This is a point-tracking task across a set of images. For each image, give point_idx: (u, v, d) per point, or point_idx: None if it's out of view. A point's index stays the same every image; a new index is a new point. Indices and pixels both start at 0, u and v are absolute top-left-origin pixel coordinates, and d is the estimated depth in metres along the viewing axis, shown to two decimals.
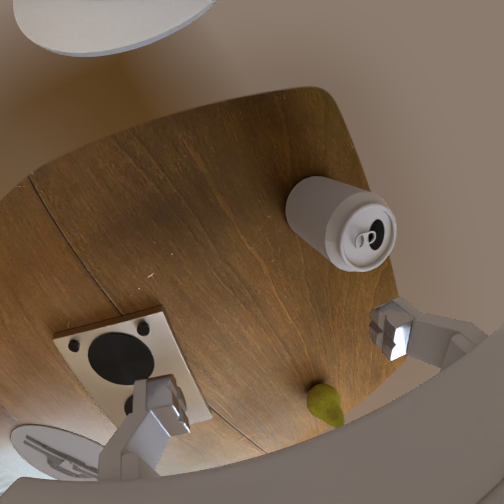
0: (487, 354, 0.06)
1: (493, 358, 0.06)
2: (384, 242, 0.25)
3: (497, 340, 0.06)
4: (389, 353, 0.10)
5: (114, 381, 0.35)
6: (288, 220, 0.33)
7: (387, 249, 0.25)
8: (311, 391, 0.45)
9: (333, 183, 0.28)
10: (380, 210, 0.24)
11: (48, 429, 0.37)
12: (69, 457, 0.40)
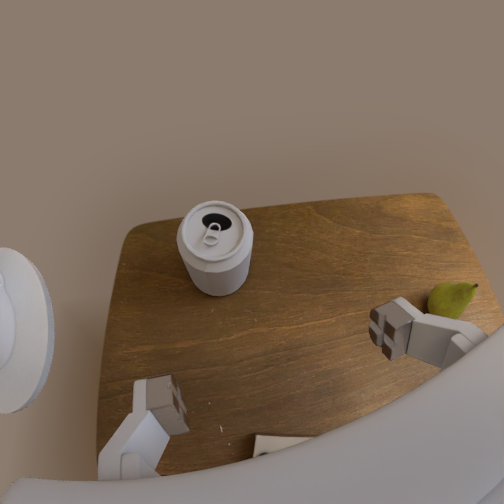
0: (487, 354, 0.06)
1: (493, 358, 0.06)
2: (228, 214, 0.29)
3: (497, 340, 0.06)
4: (389, 353, 0.10)
5: None
6: (217, 294, 0.36)
7: (235, 212, 0.29)
8: (430, 313, 0.36)
9: None
10: (195, 214, 0.29)
11: None
12: None
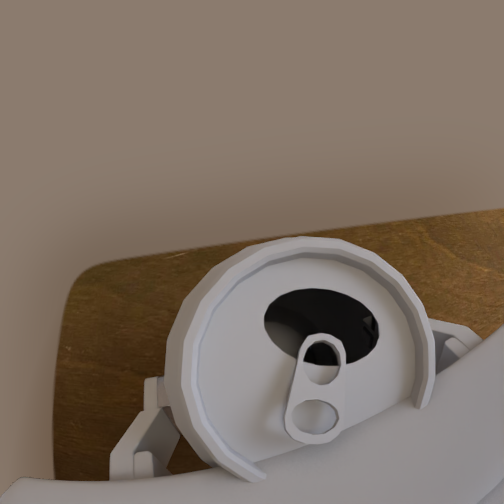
0: (487, 354, 0.06)
1: (493, 358, 0.06)
2: (363, 293, 0.07)
3: (497, 340, 0.06)
4: None
5: None
6: None
7: (390, 286, 0.07)
8: None
9: None
10: (235, 295, 0.07)
11: None
12: None
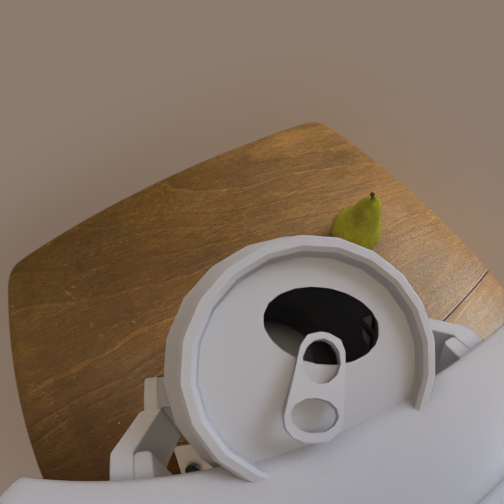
0: (487, 354, 0.06)
1: (493, 358, 0.06)
2: (363, 292, 0.07)
3: (497, 340, 0.06)
4: None
5: None
6: None
7: (389, 285, 0.07)
8: None
9: None
10: (235, 294, 0.07)
11: None
12: None
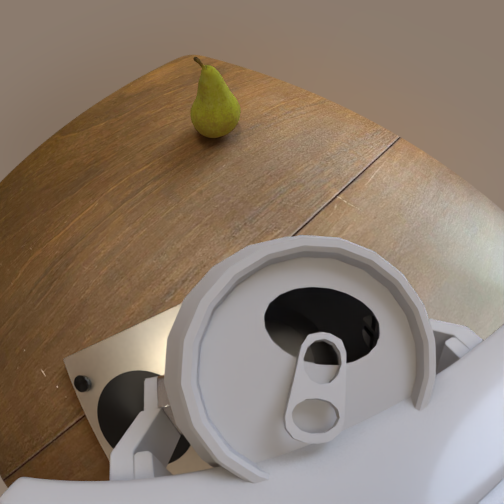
0: (487, 354, 0.06)
1: (493, 358, 0.06)
2: (363, 292, 0.07)
3: (497, 340, 0.06)
4: None
5: None
6: None
7: (390, 285, 0.07)
8: (204, 135, 0.33)
9: None
10: (235, 294, 0.07)
11: None
12: None
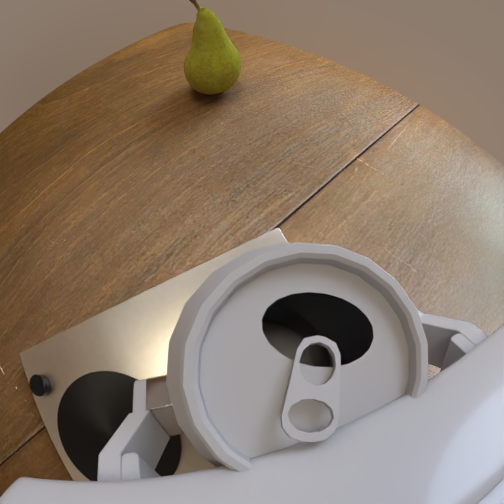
0: (487, 354, 0.06)
1: (493, 358, 0.06)
2: (358, 297, 0.07)
3: (497, 340, 0.06)
4: None
5: (173, 456, 0.15)
6: None
7: (384, 290, 0.07)
8: (199, 89, 0.26)
9: None
10: (234, 299, 0.07)
11: None
12: None
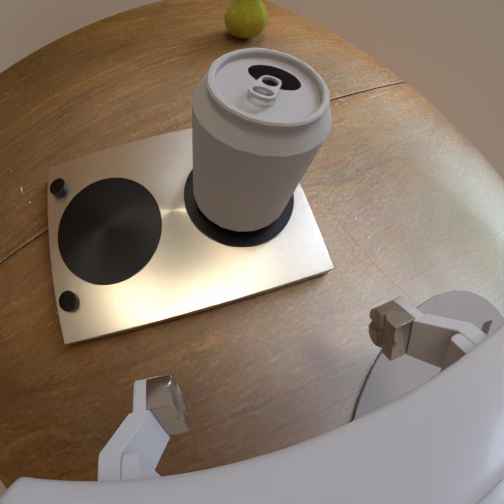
0: (487, 354, 0.06)
1: (493, 358, 0.06)
2: (295, 74, 0.14)
3: (497, 340, 0.06)
4: (390, 353, 0.10)
5: (150, 246, 0.21)
6: (233, 227, 0.21)
7: (309, 73, 0.14)
8: (232, 32, 0.31)
9: None
10: (238, 61, 0.14)
11: None
12: None
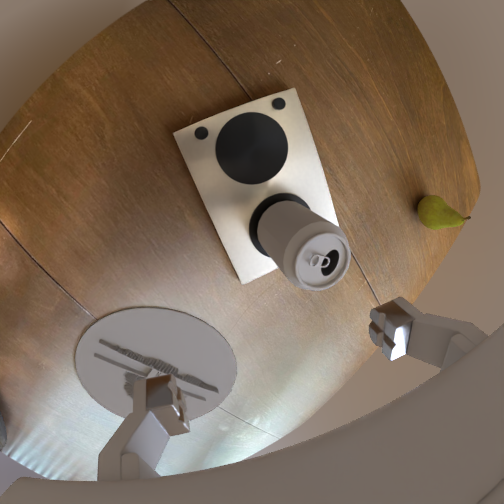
0: (487, 354, 0.06)
1: (493, 358, 0.06)
2: (334, 272, 0.30)
3: (497, 340, 0.06)
4: (389, 353, 0.10)
5: (243, 180, 0.36)
6: (258, 229, 0.37)
7: (334, 279, 0.30)
8: (421, 202, 0.44)
9: (309, 210, 0.33)
10: (340, 243, 0.29)
11: (134, 313, 0.40)
12: (158, 363, 0.44)
